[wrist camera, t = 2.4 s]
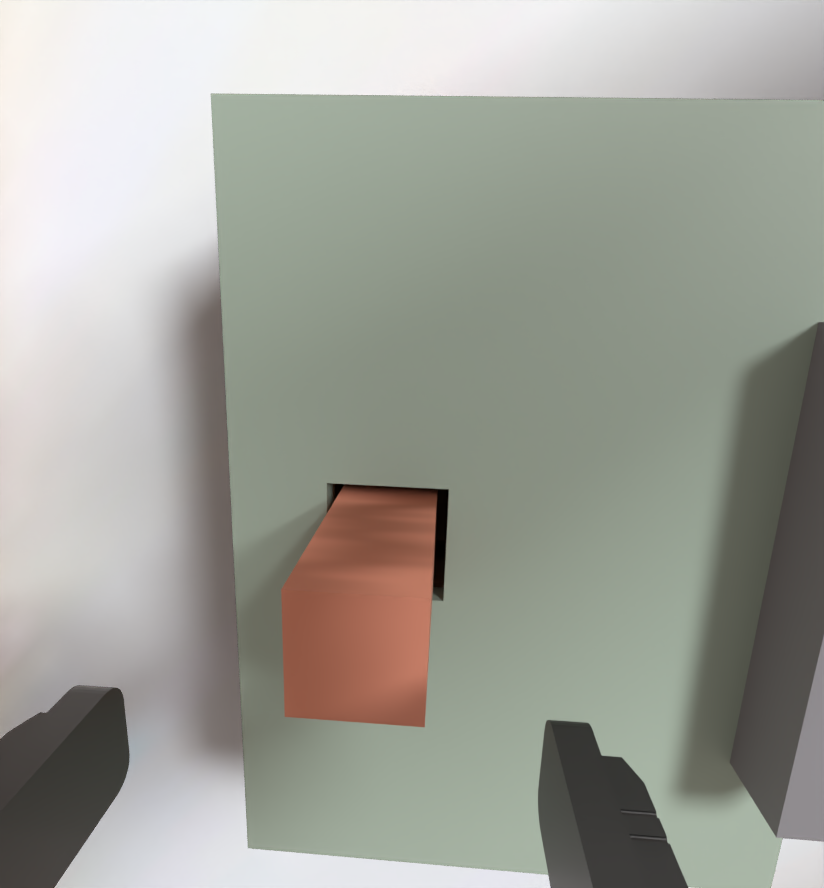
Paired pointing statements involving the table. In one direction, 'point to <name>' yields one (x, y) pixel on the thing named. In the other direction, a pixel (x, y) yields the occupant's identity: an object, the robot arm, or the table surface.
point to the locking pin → (362, 610)
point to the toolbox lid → (538, 454)
